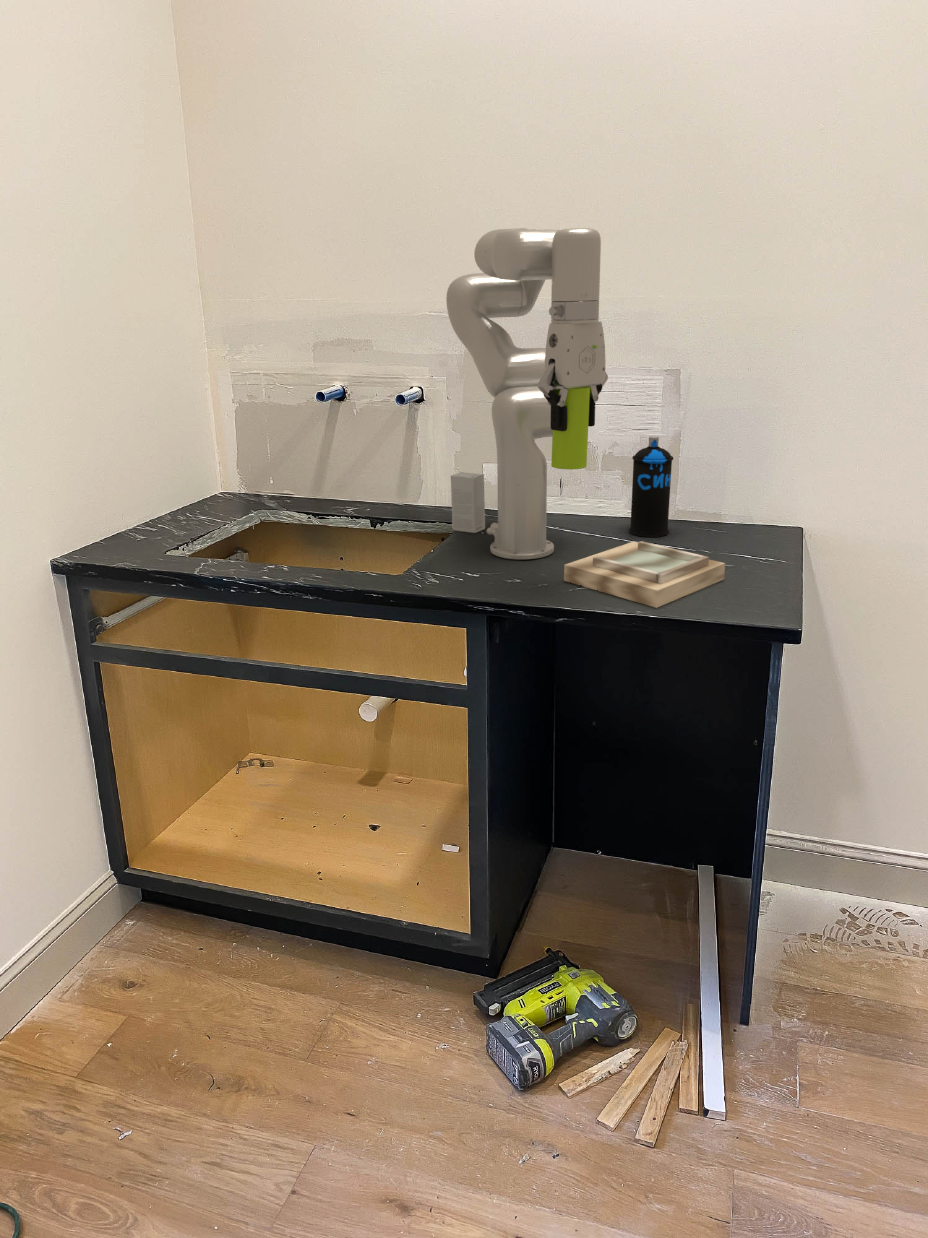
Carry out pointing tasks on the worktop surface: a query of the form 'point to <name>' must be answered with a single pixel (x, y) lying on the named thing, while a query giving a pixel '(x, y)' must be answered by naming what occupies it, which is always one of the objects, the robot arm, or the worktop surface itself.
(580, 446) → the soap dispenser
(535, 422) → the robot arm
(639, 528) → the aerosol can
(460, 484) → the skincare box
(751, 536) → the worktop surface
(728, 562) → the worktop surface
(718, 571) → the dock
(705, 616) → the worktop surface
